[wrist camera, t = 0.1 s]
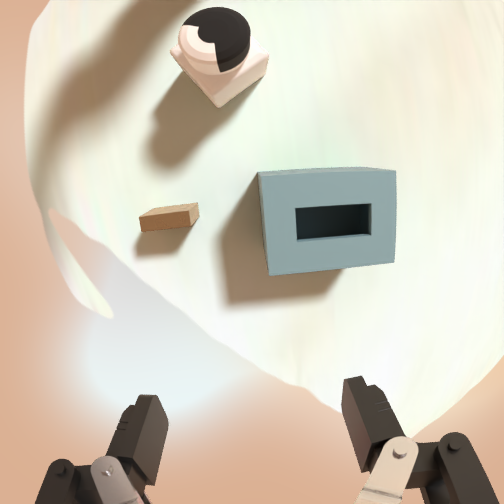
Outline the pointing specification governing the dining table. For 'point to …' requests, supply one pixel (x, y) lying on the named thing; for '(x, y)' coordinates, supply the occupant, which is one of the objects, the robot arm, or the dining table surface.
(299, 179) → the coin box
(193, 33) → the container
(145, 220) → the block
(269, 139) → the dining table surface
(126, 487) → the robot arm
